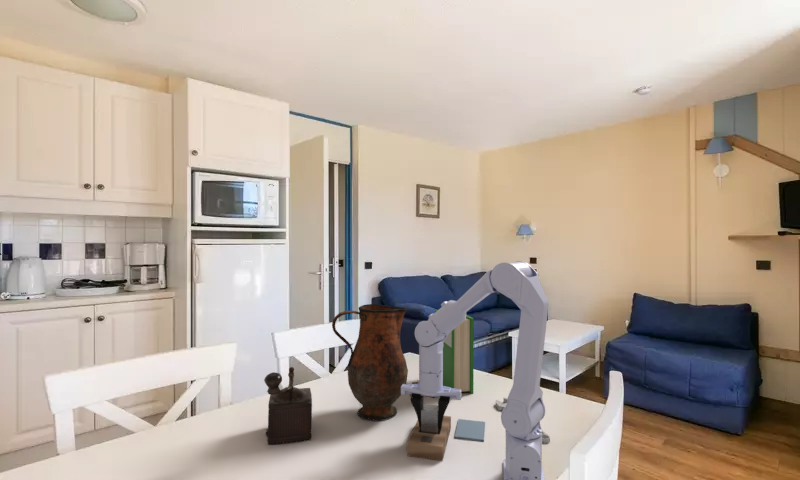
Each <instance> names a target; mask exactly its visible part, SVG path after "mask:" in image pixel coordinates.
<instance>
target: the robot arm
mask: <svg viewBox="0 0 800 480" xmlns="http://www.w3.org/2000/svg"><path fill="white" fill-rule="evenodd" d="M493 293H500V294H501V295H504V296H505V297H506V298H508V299H510V300H511V301H512V302H513V303H514V304H515V305H516V306H517V307H518V308H519V310H520V320H519V325H518V326H519V328H518V337H517V345H516V355H515V364H514V365H515V366H514V375H513V383H512V386H511V389H510V391H509V393H508V396H507V398H508V399H507V405H506V407H505V408H504V409H503V411H501V413H500V414H501V415H500V421H501V425H502V426H503V428H504V429H505V458H503V461H502V462H503V480H546V477H545V473H544V467H543V455H542V454H543V443H542V430H543V429H542V426H541V421H542V420H543V419H544V417H545V415H546V406H545V404H544V399H543V395H544V391H543V390H542V388H541V387H540V385H541V377H542V376H541V375H542V366H543V357H544V349H545V341H546V330H547V322H548V315H549V314H548V313H549V300H548V298H547V295H546V293H545V291H544V289H543V286H542V284H541V282H540V277H539V272H537V270H535V269H534V268H533V266H531V264H529V263H527V262H526V261H523V260H519V261H518V260H517V261H514V262H500V263H498V264H496V265H495V266H494V267H493V268H492V269H490V270H488V271H486V272H485V273H484V275H482V276H481V277H480V278H479V279H478V280H477V281H476V282H475V283H474V284H473V285H472V286H471V287H470V288H468V290H466V292H465V293H463V295H461V296H460V297H459V298H458V299H457V300H453V299H450V300H448V301H447V300H445V301H443V302H442V303H440V306H441V307H440V308H439V309H437V310H438V311H437V312H436V313H435V312H434V313H431V314H429V315H428V319H427V320H422V321H420V322H418V324H417V325H416V327H415V329H414V337H415V338H414V339H415V340H416V342H417V343H418V354H419V355H418V383H417V384H412V383H409V384H407V383H406V384H403V385H402V386H401V395H403V396H405V395H410V394H411V395H410V397H411V398H410V399H409V400H410V403H411V405H412V407H413V409H414V411H415V414H416V418H417V420H418V422H419V427H421V410H422V407H423V405H424V398H425V397H432V398H433V397H434V398H439V399H438V402H437V405H438V410H439V419H438V429H441V428H442V422H443V417H444V416H445V413H446V411H447V409H448V406H449V404H450V401H451V399H455V400H456V401H462V392H461V389H455V388H450V387H446V386H443V343H444V340H445V339H446V338H447V335H448V334H449V333H450V332H451V331H452V330H454V329H455V328H456V327H457V326H459V325H460V324H461V323H462V322H463V321H465V319H466V315H467V312H468V311H470V310H471V309H472V308H474V307H475V306H476V305H477V304H479V303H481V301H483V300H484V299H485V298H487V297H488V296H489V295H491V294H493Z"/></svg>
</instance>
